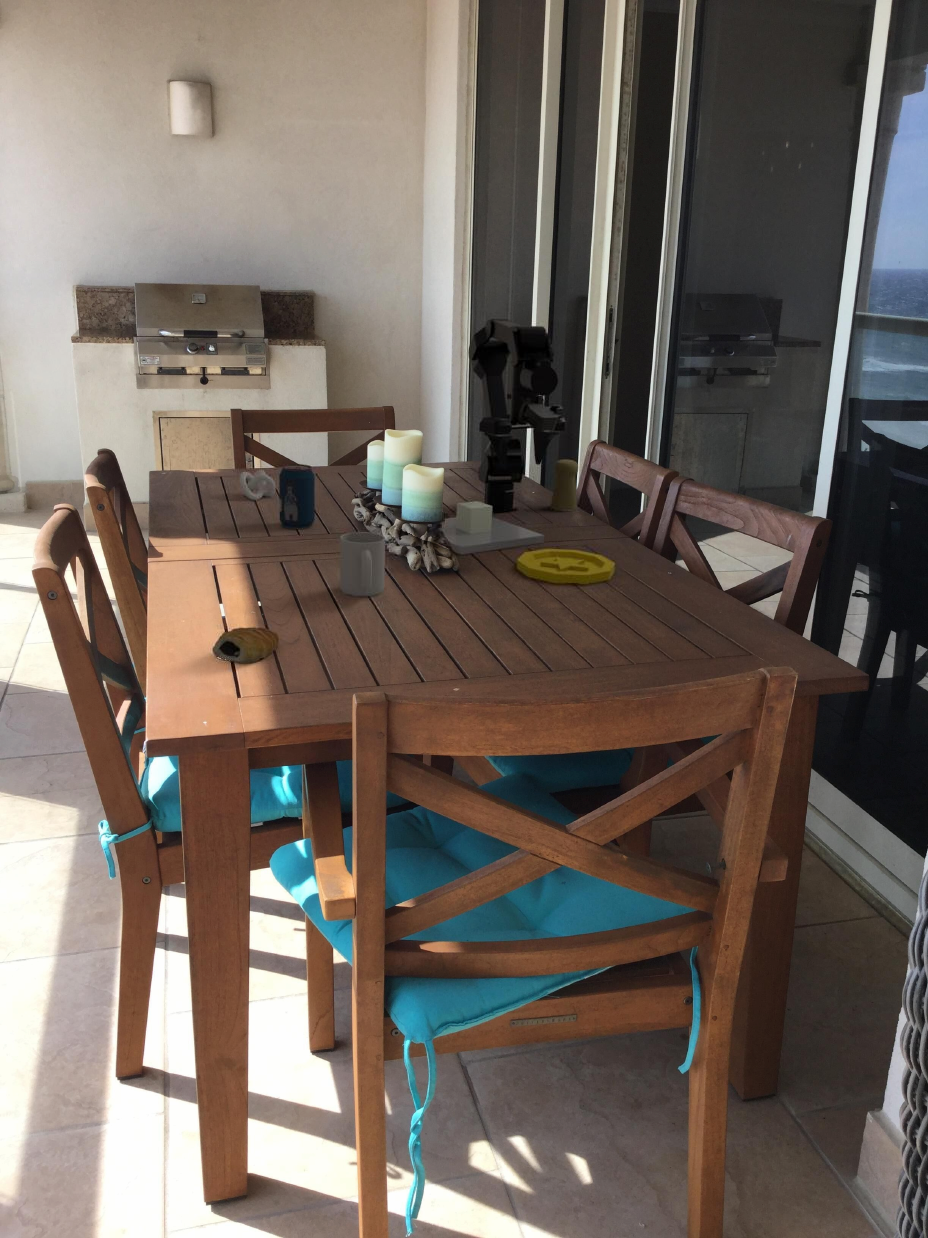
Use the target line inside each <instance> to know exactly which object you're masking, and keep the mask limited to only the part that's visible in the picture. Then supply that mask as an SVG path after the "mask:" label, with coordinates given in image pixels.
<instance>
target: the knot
mask: <svg viewBox="0 0 928 1238" xmlns="http://www.w3.org/2000/svg"><path fill="white" fill-rule="evenodd" d="M247 480H248V482H247ZM238 481H239V486H240V489H241V491H242V492H243V494H244V495H243V496H245V497H247V498H248V499H250V500H252V501H259V500H261V498H262V497H264V496H265V498H269V497H272V496H274V494H275V493H276V488H277V487H276V483H275V480H274V479H273V478H272V476H270V475H268V474H266V472H265V471H264V470H263V469H259V470H256V471H255V472H254V473H253V474H252V473H250V472H248V471H243V472H241V473H240V474H239V478H238ZM267 484H268V489H267V490H266V485H267ZM254 490H255V491H256V493H255V492H254Z"/></svg>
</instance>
